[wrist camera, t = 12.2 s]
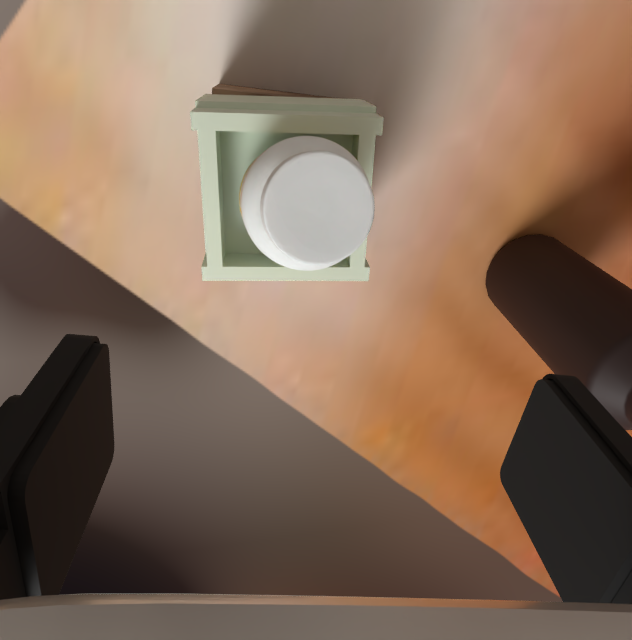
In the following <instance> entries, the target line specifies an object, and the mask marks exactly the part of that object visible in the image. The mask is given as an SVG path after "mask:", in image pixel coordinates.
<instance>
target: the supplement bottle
mask: <svg viewBox="0 0 632 640" xmlns="http://www.w3.org/2000/svg"><path fill="white" fill-rule="evenodd" d="M239 208H240V212H241V215H242V218H243V221H244V224H245V227H246V229H247V232H248V234H249V236H250V238H251V239H252V241H253V242H254V244H255V245H256V246H257V248H258V249H259V250H260V251H261V252H262V253H263V254H265V255H266V256H267V257H268V258H270V259H271V260H272V261H274V262H276V263H278V264H280V265H282V266H284V267H287V268H290V269H295V270H302V271H313V270H320V269H324V268H327V267H330V266H332V265H335V264H337V263H338V262H340V261H342V260H343V259H345V258H346V257H348V256H350V255H351V254H352V253H353V252H354V251H356V250H357V249H358V248H359V247H360V245H361V244H362V243H363V242H364V240H365V239H366V237H367V235H368V234H369V232H370V229H371V226H372V222H373V219H374V197H373V193H372V189H371V186H370V184H369V181H368V178H367V176H366V173H365V171H364V170H363V168H362V166H361V165H360V163H359V162H358V161H357V159H356V158H355V157H354V156H353V155H352V154H351V153H350V152H349V151H347V150H346V149H345V148H343V147H342V146H340V145H339V144H337V143H335V142H333V141H330V140H328V139H325V138H321V137H315V136H298V137H292V138H288V139H285V140H282V141H280V142H278V143H276V144H274V145H273V146H271V147H269V148H268V149H267V150H266V151H264V152H263V153H262V154H261V155H259V156H258V157H257V158H256V159H255V160H254V161H253V162H252V163H251V164H250V166H249V167H248V168H247V170H246V172H245V174H244V176H243V179H242V181H241V185H240V189H239Z"/></svg>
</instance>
